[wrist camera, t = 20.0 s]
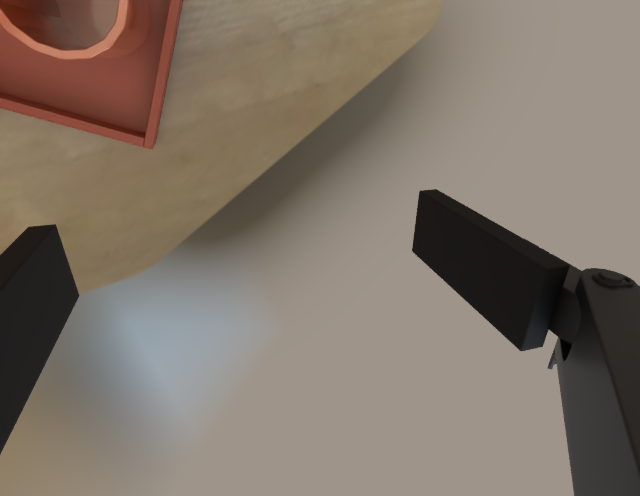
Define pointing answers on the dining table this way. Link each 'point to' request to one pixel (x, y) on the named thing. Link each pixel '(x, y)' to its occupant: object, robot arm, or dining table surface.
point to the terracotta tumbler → (78, 26)
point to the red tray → (95, 83)
